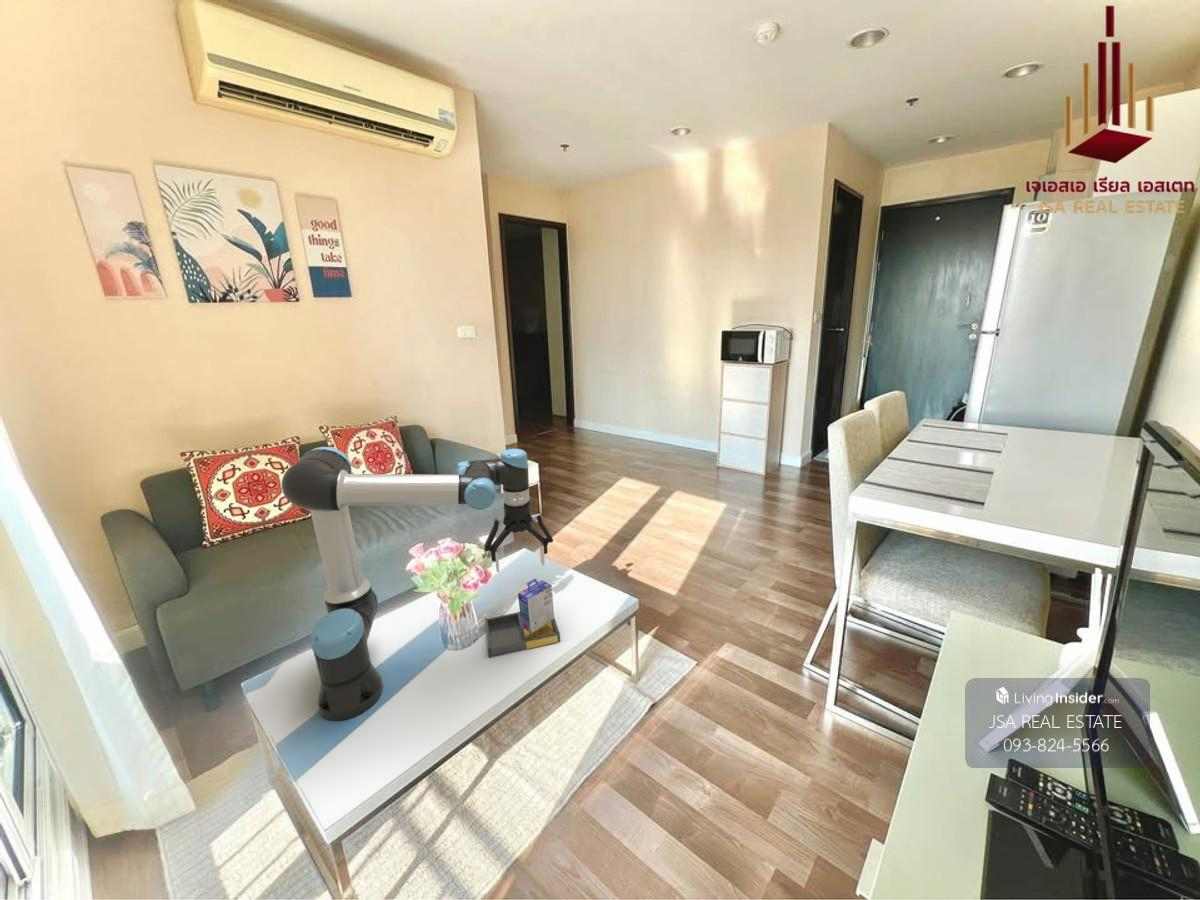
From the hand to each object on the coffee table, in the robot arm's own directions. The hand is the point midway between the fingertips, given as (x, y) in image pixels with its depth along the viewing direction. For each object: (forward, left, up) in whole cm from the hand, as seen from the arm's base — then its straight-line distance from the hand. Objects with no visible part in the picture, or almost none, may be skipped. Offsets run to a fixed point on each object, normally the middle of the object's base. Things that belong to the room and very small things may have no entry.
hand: (520, 566), depth 141 cm
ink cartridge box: (+4, -2, -20) cm, 20 cm away
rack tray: (-1, -2, -23) cm, 23 cm away
